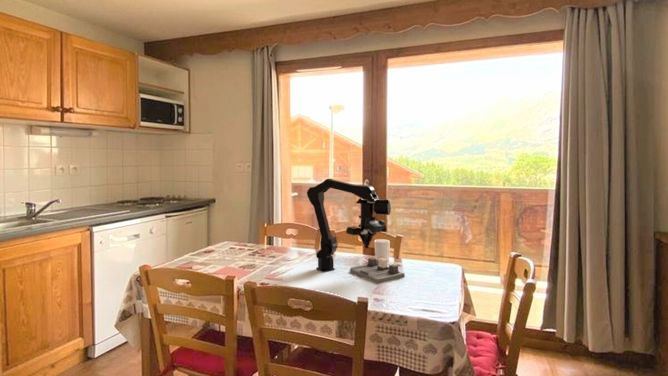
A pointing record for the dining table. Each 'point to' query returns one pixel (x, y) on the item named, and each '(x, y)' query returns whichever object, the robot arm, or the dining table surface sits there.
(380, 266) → the breaker
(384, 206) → the robot arm
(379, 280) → the breaker panel
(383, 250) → the white cup
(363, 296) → the dining table surface
